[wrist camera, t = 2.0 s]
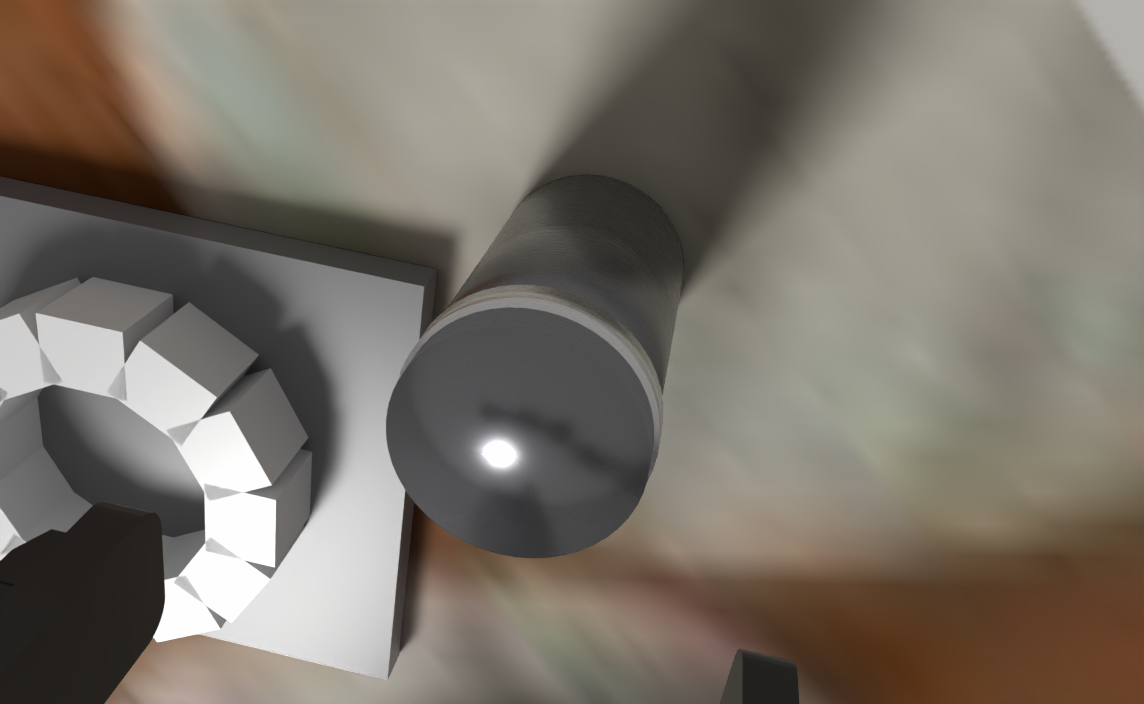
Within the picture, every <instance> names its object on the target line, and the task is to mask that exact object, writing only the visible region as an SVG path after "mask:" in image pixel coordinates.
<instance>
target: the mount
mask: <svg viewBox="0 0 1144 704" xmlns="http://www.w3.org/2000/svg"><path fill="white" fill-rule="evenodd" d="M436 279H437V269H434V268H429V267H424V266H419V265H415V264H410V263H405V262H401V261H396V260H391V259H387V258H382V257H377V256H372V255H368V254H363V253H358V252H354V251H349V250H344V249H340V248H335V247H330V246H325V245H321V244H316V243H311V242H307V241H302V240H297V239H292V238H288V237H283V236H278V235H274V234H269V233H264V232H260V231H255V230H250V229H245V228H241V227H236V226H231V225H227V224H222V223H217V222H213V221H208V220H203V219H198V218H194V217H189V216H184V215H180V214H175V213H170V212H166V211H161V210H156V209H151V208H147V207H142V206H137V205H133V204H128V203H123V202H118V201H114V200H109V199H104V198H100V197H95V196H90V195H86V194H81V193H76V192H71V191H67V190H62V189H57V188H53V187H48V186H43V185H39V184H34V183H29V182H24V181H20V180H15V179H10V178H6V177H1V176H0V561H1V560H2V559H3V558H4V557H5V556H6V555H7V554H8V553H9V552H10V551H11V550H12V549H14V548H16V547H18V546H20V545H22V544H24V543H26V542H28V541H30V540H31V539H33V538H35V537H37V536H39V535H41V534H43V533H45V532H47V531H49V530H51V529H53V530H58V531H62V532H67V531H68V530H69V529H70V528H71V527H72V526H73V525H74V524H75V523H76V522H77V521H78V520H79V519H80V518H81V517H82V516H83V515H84V514H85V513H86V512H87V511H88V510H89V509H90V508H91V507H92V506H93V505H95V504H96V503H98V502H101V501H106V502H110V503H115V504H119V505H123V506H128V507H132V508H136V509H141V510H145V511H150V512H154V513H156V514H157V515H158V516H159V518H160V520H161V526H162V543H163V562H164V580H165V605H164V610H163V614H162V618H161V621H160V623H159V626H158V628H157V630H156V633H155V635H154V636H153V637H154V639H155V640H156V642H161V641H166V640H171V639H176V638H181V637H185V636H190V635H195V634H200V635H204V636H208V637H212V638H216V639H220V640H225V641H229V642H233V643H237V644H241V645H245V646H249V647H253V648H257V649H261V650H265V651H269V652H273V653H277V654H282V655H286V656H290V657H294V658H298V659H302V660H306V661H310V662H314V663H318V664H322V665H326V666H330V667H334V668H338V669H343V670H347V671H351V672H355V673H359V674H363V675H367V676H371V677H375V678H379V679H383V680H388V678H389V676H390V674H391V672H392V669H393V667H394V665H395V663H396V660H397V658H398V656H399V652H400V642H401V632H402V622H403V612H404V602H405V592H406V582H407V572H408V562H409V552H410V542H411V531H412V521H413V511H414V501H413V500H412V498H411V497H410V496H409V494H408V493H407V492H406V490H405V489H404V487H403V485H402V483H401V482H400V480H399V478H398V476H397V474H396V472H395V469H394V467H393V465H392V462H391V458H390V455H389V451H388V446H387V439H386V416H387V410H388V404H389V401H390V398H391V395H392V392H393V390H394V388H395V386H396V384H397V382H398V379H399V376H400V373H401V369H402V367H403V365H404V363H405V361H406V359H407V357H408V355H409V354H410V352H411V351H412V349H413V348H414V346H415V345H416V344H417V342H418V341H419V339H420V338H421V337H422V335H423V334H424V332H425V331H426V330H427V328H428V327H429V325H430V324H431V323H432V320H433V310H434V300H435V289H436Z"/></svg>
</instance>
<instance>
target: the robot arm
mask: <svg viewBox="0 0 1144 704" xmlns="http://www.w3.org/2000/svg"><path fill="white" fill-rule="evenodd" d="M164 605H165V580H164V562H163V543H162V526H161V520H160V518H159V516H158V515H157V514H156V513H154V512H150V511H145V510H141V509H136V508H132V507H128V506H123V505H119V504H115V503H110V502H106V501H101V502H98V503H96V504H95V505H93V506H92V507H91V508H90V509H89V510H88V511H87V512H86V513H85V514H84V515H83V516H82V517H81V518H80V519H79V520H78V521H77V522H76V523H75V524H74V525H73V526H72V527H71V528H70V529H69V530H68V531H67V532H62V531H58V530H53V529H51V530H49V531H47V532H45V533H43V534H41V535H39V536H37V537H35V538H33V539H31V540H30V541H28V542H26V543H24V544H22V545H20V546H18V547H16V548H14V549H12V550H11V551H10V552H9V553H8V554H7V555H6V556H5V557H4V558H3V559H2V560H1V561H0V704H104V703H105V702H106V700H107V699H108V698H109V696H110V695H111V694H112V692H113V691H114V690H115V688H116V687H117V686H118V684H119V683H120V682H121V680H122V679H123V678H124V676H125V675H126V674H127V672H128V671H129V670H130V668H131V667H132V666H133V664H134V663H135V662H136V660H137V659H138V658H139V656H140V655H141V654H142V652H143V651H144V650H145V648H146V647H147V646H148V644H149V643H150V641H151V640H152V638H153V636H154V635H155V633H156V630H157V628H158V626H159V623H160V621H161V618H162V614H163V610H164ZM720 704H799V693H798V677H797V667H796V664H795V662H794V661H790V660H786V659H782V658H777V657H773V656H769V655H764V654H760V653H756V652H751V651H747V650H742V649H739V650H738V651H737V653H736V655H735V658H734V661H733V664H732V667H731V670H730V673H729V677H728V680H727V683H726V686H725V689H724V692H723V695H722V699H721V702H720Z"/></svg>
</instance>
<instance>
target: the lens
mask: <svg viewBox="0 0 1144 704" xmlns="http://www.w3.org/2000/svg"><path fill="white" fill-rule="evenodd" d="M683 274H684V260H683V252H682V247H681V244H680V240H679V237H678V235H677V233H676V230H675V228H674V226H673V225H672V223H671V221H670V219H669V218H668V216H667V215H666V214H665V213H664V211H663V210H662V209H661V208H660V207H659V206H658V205H657V204H656V203H655V202H654V201H653V200H652V199H651V198H650V197H648V196H647V195H646V194H644V193H643V192H642V191H640V190H638V189H637V188H635V187H633V186H631V185H629V184H627V183H625V182H622V181H620V180H617V179H613V178H609V177H605V176H597V175H577V176H569V177H565V178H561V179H557V180H555V181H552V182H550V183H547V184H545V185H544V186H542V187H540V188H538V189H537V190H535V191H534V192H533V193H531V194H530V195H529V196H528V197H526V198H525V199H524V200H523V201H522V202H521V204H520V205H519V206H518V207H517V208H516V210H515V211H514V213H513V214H512V215H511V217H510V218H509V220H508V221H507V223H506V224H505V226H504V227H503V228H502V230H501V231H500V233H499V234H498V236H497V237H496V239H495V240H494V241H493V243H492V244H491V246H490V247H489V249H488V250H487V252H486V253H485V255H484V256H483V257H482V259H481V260H480V262H479V263H478V265H477V266H476V268H475V269H474V270H473V272H472V273H471V275H470V276H469V278H468V279H467V281H466V282H465V284H464V285H463V286H462V288H461V289H460V291H459V292H458V294H457V295H456V297H455V298H454V299H453V301H452V302H451V304H450V305H449V307H448V308H447V309H446V310H445V311H443V312H442V313H441V314H440V315H439V316H438V317H437V318H436V319H435V320H434V321H433V322H432V323H431V324H430V325H429V327H428V328H427V330H426V331H425V332H424V334H423V335H422V337H421V338H420V339H419V341H418V342H417V344H416V345H415V346H414V348H413V349H412V351H411V352H410V354H409V355H408V357H407V359H406V361H405V363H404V365H403V367H402V369H401V373H400V376H399V379H398V382H397V384H396V386H395V388H394V390H393V392H392V395H391V398H390V401H389V404H388V410H387V416H386V439H387V446H388V451H389V455H390V458H391V462H392V465H393V467H394V469H395V472H396V474H397V476H398V478H399V480H400V482H401V483H402V485H403V487H404V489H405V490H406V492H407V493H408V494H409V496H410V497H411V498H412V500H413V501H414V502H415V504H416V505H417V506H418V507H419V508H420V509H421V510H422V511H423V512H424V513H425V514H426V515H427V516H428V517H429V518H430V519H432V520H433V521H434V522H435V523H436V524H438V525H439V526H440V527H442V528H443V529H445V530H446V531H448V532H449V533H450V534H452V535H453V536H455V537H457V538H459V539H461V540H463V541H465V542H467V543H469V544H471V545H474V546H476V547H479V548H481V549H484V550H487V551H491V552H494V553H497V554H502V555H507V556H513V557H523V558H549V557H555V556H562V555H567V554H570V553H574V552H578V551H580V550H583V549H585V548H588V547H590V546H593V545H594V544H596V543H598V542H600V541H601V540H603V539H605V538H607V537H608V536H609V535H610V534H612V533H613V532H614V531H616V530H617V529H618V528H619V527H620V526H621V525H622V524H623V523H624V522H625V521H626V520H627V519H628V518H629V516H630V515H631V513H632V512H633V511H634V509H635V508H636V506H637V505H638V503H639V501H640V499H641V497H642V495H643V492H644V489H645V486H646V483H647V481H648V479H649V477H650V475H651V473H652V471H653V468H654V465H655V462H656V459H657V455H658V449H659V443H660V437H661V431H662V424H663V398H662V395H663V389H664V384H665V378H666V372H667V367H668V361H669V355H670V350H671V344H672V338H673V333H674V327H675V321H676V316H677V310H678V304H679V298H680V293H681V287H682V281H683Z"/></svg>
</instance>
